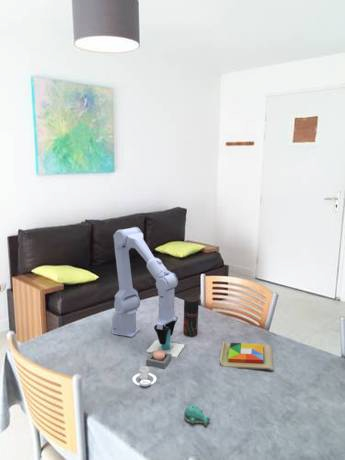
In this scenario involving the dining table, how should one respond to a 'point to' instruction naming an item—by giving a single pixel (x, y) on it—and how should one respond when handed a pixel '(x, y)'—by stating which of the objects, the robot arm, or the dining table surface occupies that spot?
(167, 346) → the marker
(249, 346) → the wooden puzzle
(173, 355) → the pad
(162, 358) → the button
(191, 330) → the deodorant
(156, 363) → the housing
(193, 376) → the dining table surface
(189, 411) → the whale figurine
